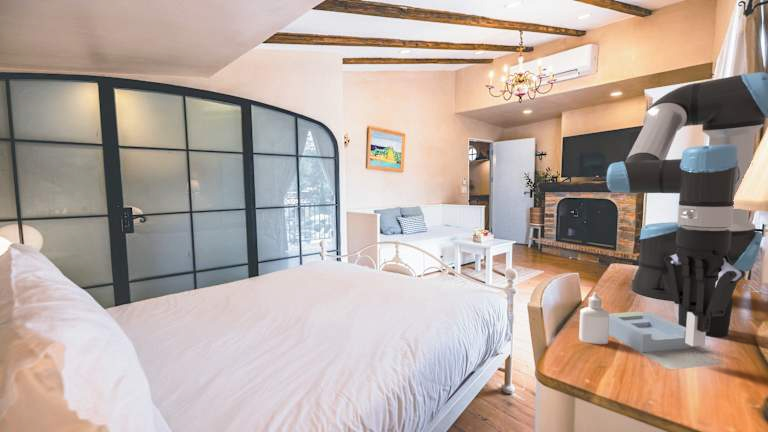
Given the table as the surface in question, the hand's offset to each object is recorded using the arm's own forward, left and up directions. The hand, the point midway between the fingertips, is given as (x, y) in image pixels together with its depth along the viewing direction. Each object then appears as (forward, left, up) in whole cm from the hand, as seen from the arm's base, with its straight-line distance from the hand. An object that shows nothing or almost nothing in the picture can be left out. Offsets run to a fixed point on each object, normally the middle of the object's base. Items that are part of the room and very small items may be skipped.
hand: (694, 343), depth 65 cm
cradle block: (0, -10, -4) cm, 11 cm away
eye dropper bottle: (+12, -12, -5) cm, 18 cm away
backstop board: (0, -9, -5) cm, 10 cm away
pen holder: (-18, -13, -5) cm, 22 cm away
